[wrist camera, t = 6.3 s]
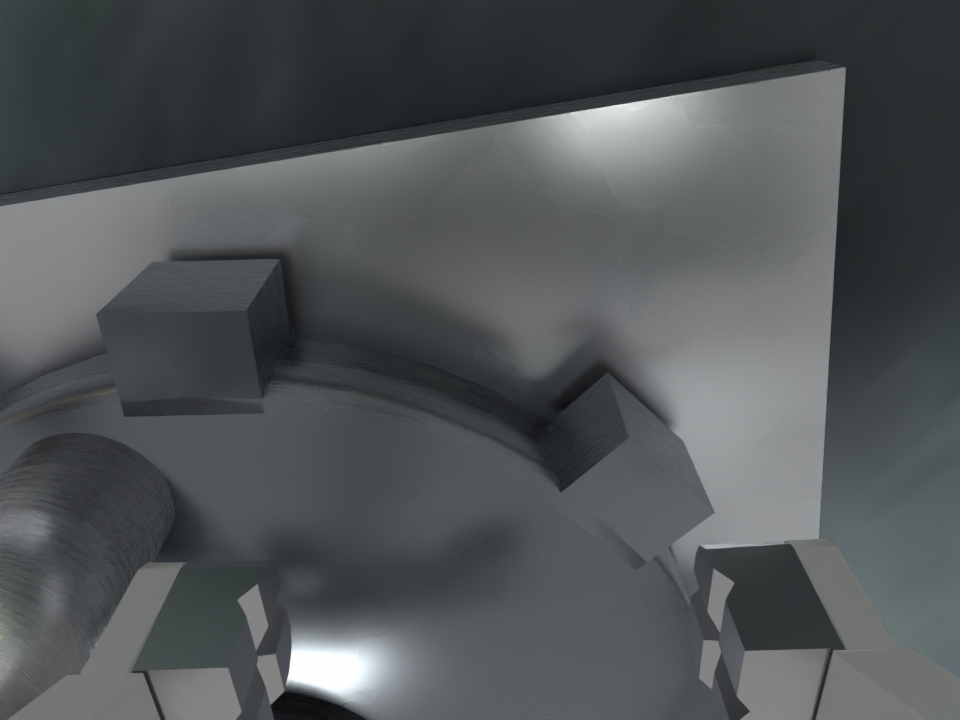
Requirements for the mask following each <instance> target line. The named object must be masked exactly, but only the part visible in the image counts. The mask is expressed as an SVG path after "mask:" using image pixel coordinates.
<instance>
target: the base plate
mask: <svg viewBox="0 0 960 720" xmlns="http://www.w3.org/2000/svg"><path fill="white" fill-rule="evenodd" d="M845 74H846V67H843V66H839V65H836V64H832V63H828V62H825V61H821V60H812V61H806V62H800V63H794V64H788V65H782V66H776V67H770V68H764V69H758V70H752V71H746V72H740V73H734V74H728V75H722V76H716V77H710V78H704V79H698V80H692V81H686V82H680V83H673V84H667V85H661V86H655V87H649V88H643V89H637V90H631V91H625V92H619V93H613V94H607V95H601V96H595V97H589V98H583V99H577V100H571V101H565V102H559V103H553V104H547V105H541V106H534V107H528V108H522V109H516V110H510V111H504V112H498V113H492V114H486V115H480V116H474V117H468V118H462V119H456V120H450V121H444V122H438V123H432V124H426V125H420V126H414V127H408V128H402V129H395V130H389V131H383V132H377V133H371V134H365V135H359V136H353V137H347V138H341V139H335V140H329V141H323V142H317V143H311V144H305V145H299V146H293V147H287V148H281V149H275V150H269V151H263V152H256V153H250V154H244V155H238V156H232V157H226V158H220V159H214V160H208V161H202V162H196V163H190V164H184V165H178V166H172V167H166V168H160V169H154V170H148V171H142V172H136V173H130V174H124V175H117V176H111V177H105V178H99V179H93V180H87V181H81V182H75V183H69V184H63V185H57V186H51V187H45V188H39V189H33V190H27V191H21V192H15V193H9V194H3V195H0V398H2V397H4V396H6V395H8V394H10V393H11V392H13V391H15V390H17V389H19V388H21V387H23V386H25V385H26V384H28V383H30V382H32V381H34V380H36V379H38V378H40V377H41V376H43V375H46V374H49V373H51V372H54V371H57V370H60V369H63V368H65V367H68V366H71V365H74V364H76V363H79V362H82V361H85V360H88V359H90V358H93V357H96V356H99V355H102V354H107V352H106V348H105V345H104V341H103V338H102V334H101V330H100V327H99V323H98V320H97V316H96V314H97V313H98V312H99V311H100V310H101V309H102V308H103V307H104V306H105V305H106V304H108V303H109V302H110V301H111V300H112V299H113V298H114V297H115V296H116V295H117V294H118V293H119V292H120V291H121V290H123V289H124V288H125V287H126V286H127V285H128V284H129V283H130V282H131V281H132V280H133V279H134V278H135V277H136V276H138V275H139V274H140V273H141V272H142V271H143V270H144V269H145V268H146V267H147V266H148V265H149V264H150V263H152V262H174V261H213V260H252V259H280V263H281V269H282V276H283V282H284V289H285V296H286V302H287V309H288V315H289V322H290V328H291V335H292V338H303V339H309V340H316V341H323V342H329V343H336V344H343V345H349V346H356V347H363V348H368V349H372V350H375V351H379V352H383V353H386V354H390V355H394V356H398V357H401V358H405V359H409V360H412V361H416V362H420V363H423V364H427V365H431V366H433V367H436V368H438V369H441V370H443V371H446V372H448V373H451V374H453V375H456V376H458V377H461V378H463V379H466V380H468V381H471V382H473V383H476V384H478V385H481V386H483V387H486V388H488V389H491V390H493V391H494V392H496V393H498V394H500V395H502V396H504V397H505V398H507V399H509V400H511V401H513V402H514V403H516V404H518V405H520V406H522V407H524V408H525V409H527V410H529V411H531V412H533V413H534V414H536V415H538V416H540V417H542V418H544V419H545V420H547V421H548V422H550V421H552V420H553V419H554V418H555V417H556V416H557V415H559V414H560V413H561V412H562V411H563V410H564V409H566V408H567V407H568V406H569V405H570V404H571V403H573V402H574V401H575V400H576V399H577V398H578V397H580V396H581V395H582V394H583V393H584V392H585V391H587V390H588V389H589V388H590V387H591V386H592V385H594V384H595V383H596V382H597V381H598V380H599V379H600V378H602V377H603V376H604V375H605V374H606V373H607V372H608V373H609V374H610V375H611V376H612V377H613V378H614V379H615V380H617V381H618V382H619V383H620V384H621V385H622V386H623V387H624V388H625V389H626V390H628V391H629V392H630V393H631V394H632V395H633V396H634V397H635V398H636V399H638V400H639V401H640V402H641V403H642V404H643V405H644V406H645V407H646V408H648V409H649V410H650V411H651V412H652V413H653V414H654V415H655V416H656V417H658V418H659V419H660V420H661V421H662V422H663V423H664V424H665V425H666V426H668V427H669V428H670V429H671V430H672V431H673V432H674V433H675V434H676V435H677V436H679V437H680V438H681V439H682V440H683V441H684V444H685V446H686V448H687V450H688V453H689V455H690V457H691V459H692V462H693V464H694V466H695V469H696V471H697V473H698V475H699V478H700V480H701V482H702V485H703V487H704V489H705V491H706V494H707V496H708V498H709V500H710V503H711V505H712V507H713V510H714V512H715V513H714V514H712V515H711V516H710V517H708V518H707V519H705V520H704V521H703V522H701V523H700V524H699V525H697V526H696V527H695V528H693V529H692V530H690V531H689V532H688V533H686V534H685V535H684V536H682V537H681V538H680V539H678V540H677V541H675V542H674V543H673V544H671V545H670V546H669V547H668V548H669V549H670V551H671V553H672V555H673V557H674V559H675V561H676V563H677V565H678V566H679V568H680V571H681V574H682V577H683V580H684V583H685V586H686V589H687V592H688V595H689V598H690V597H691V596H692V595H693V594H694V593H696V592H697V591H698V590H699V589H700V588H699V585H698V582H697V579H696V576H695V573H694V563H695V555H696V552H697V549H698V547H699V545H708V544H731V543H754V542H777V541H781V542H784V541H788V540H808V539H819V524H820V506H821V489H822V472H823V454H824V437H825V420H826V403H827V385H828V368H829V351H830V333H831V316H832V299H833V282H834V264H835V247H836V230H837V212H838V195H839V178H840V161H841V143H842V126H843V109H844V91H845Z"/></svg>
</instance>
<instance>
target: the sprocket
mask: <svg viewBox="0 0 960 720" xmlns="http://www.w3.org/2000/svg"><path fill="white" fill-rule="evenodd" d="M96 316H97V320H98V323H99V327H100V330H101V334H102V338H103V341H104V345H105V348H106V352H107V354H102V355H99V356H96V357H93V358H90V359H88V360H85V361H82V362H79V363H76V364H74V365H71V366H68V367H65V368H63V369H60V370H57V371H54V372H51V373H49V374H46V375H43V376H41V377H40V378H38V379H36V380H34V381H32V382H30V383H28V384H26V385H25V386H23V387H21V388H19V389H17V390H15V391H13V392H11V393H10V394H8V395H6V396H4V397H2V398H0V720H8V719H9V718H10V717H12V716H13V715H14V714H16V713H17V712H18V711H20V710H21V709H22V708H24V707H25V706H26V705H28V704H29V703H30V702H32V701H33V700H34V699H36V698H37V697H38V696H40V695H41V694H42V693H44V692H45V691H46V690H48V689H49V688H50V687H52V686H53V685H55V684H56V683H57V682H59V681H60V680H61V679H63V678H64V677H65V676H67V675H80V674H81V672H82V670H83V668H84V666H85V664H86V663H87V661H88V659H89V657H90V655H91V654H92V652H93V650H94V648H95V646H96V644H97V643H98V641H99V639H100V637H101V635H102V634H103V632H104V630H105V628H106V626H107V624H108V623H109V621H110V619H111V617H112V615H113V614H114V612H115V610H116V608H117V606H118V604H119V603H120V601H121V599H122V597H123V595H124V594H125V592H126V590H127V588H128V586H129V584H130V583H131V581H132V579H133V577H134V575H135V574H136V572H137V571H138V570H139V569H140V568H141V567H143V566H144V565H145V564H147V563H148V562H189V561H255V560H270V561H271V562H273V563H275V564H276V567H277V571H278V575H279V578H280V582H281V586H280V589H279V593H278V596H277V600H276V602H277V603H278V604H279V605H280V606H282V607H283V608H284V609H285V610H286V611H287V612H288V617H289V621H290V626H291V640H292V649H291V660H290V670H289V674H288V679H287V683H286V687H285V691H284V692H283V693H282V694H281V695H280V696H279V697H278V698H277V699H276V700H275V701H274V702H273V703H272V704H271V709H272V713H273V717H274V720H711V717H710V714H709V708H710V700H711V693H712V689H711V688H709V687H708V686H707V685H706V684H705V683H704V682H703V681H701V680H700V679H699V677H698V673H697V670H696V666H695V663H694V659H693V654H692V649H691V644H690V633H689V608H690V598H689V595H688V592H687V589H686V586H685V583H684V580H683V577H682V574H681V571H680V568H679V566H678V565H677V563H676V561H675V559H674V557H673V555H672V553H671V551H670V549H669V548H668V547H669V546H670V545H671V544H673V543H674V542H675V541H677V540H678V539H680V538H681V537H682V536H684V535H685V534H686V533H688V532H689V531H690V530H692V529H693V528H695V527H696V526H697V525H699V524H700V523H701V522H703V521H704V520H705V519H707V518H708V517H710V516H711V515H712V514H714V513H715V512H714V510H713V507H712V505H711V503H710V500H709V498H708V496H707V494H706V491H705V489H704V487H703V485H702V482H701V480H700V478H699V475H698V473H697V471H696V469H695V466H694V464H693V462H692V459H691V457H690V455H689V453H688V450H687V448H686V446H685V444H684V441H683V440H682V439H681V438H680V437H679V436H677V435H676V434H675V433H674V432H673V431H672V430H671V429H670V428H669V427H668V426H666V425H665V424H664V423H663V422H662V421H661V420H660V419H659V418H658V417H656V416H655V415H654V414H653V413H652V412H651V411H650V410H649V409H648V408H646V407H645V406H644V405H643V404H642V403H641V402H640V401H639V400H638V399H636V398H635V397H634V396H633V395H632V394H631V393H630V392H629V391H628V390H626V389H625V388H624V387H623V386H622V385H621V384H620V383H619V382H618V381H617V380H615V379H614V378H613V377H612V376H611V375H610V374H609V373H608V372H607V373H606V374H605V375H604V376H603V377H602V378H600V379H599V380H598V381H597V382H596V383H595V384H594V385H592V386H591V387H590V388H589V389H588V390H587V391H585V392H584V393H583V394H582V395H581V396H580V397H578V398H577V399H576V400H575V401H574V402H573V403H571V404H570V405H569V406H568V407H567V408H566V409H564V410H563V411H562V412H561V413H560V414H559V415H557V416H556V417H555V418H554V419H553V420H552V421H550V422H548V421H547V420H545V419H544V418H542V417H540V416H538V415H536V414H534V413H533V412H531V411H529V410H527V409H525V408H524V407H522V406H520V405H518V404H516V403H514V402H513V401H511V400H509V399H507V398H505V397H504V396H502V395H500V394H498V393H496V392H494V391H493V390H491V389H488V388H486V387H483V386H481V385H478V384H476V383H473V382H471V381H468V380H466V379H463V378H461V377H458V376H456V375H453V374H451V373H448V372H446V371H443V370H441V369H438V368H436V367H433V366H431V365H427V364H423V363H420V362H416V361H412V360H409V359H405V358H401V357H398V356H394V355H390V354H386V353H383V352H379V351H375V350H372V349H368V348H363V347H356V346H349V345H343V344H336V343H329V342H323V341H316V340H309V339H303V338H292V335H291V328H290V322H289V315H288V309H287V302H286V296H285V289H284V282H283V276H282V269H281V263H280V259H252V260H213V261H174V262H152V263H150V264H149V265H148V266H147V267H146V268H145V269H144V270H143V271H142V272H141V273H140V274H139V275H138V276H136V277H135V278H134V279H133V280H132V281H131V282H130V283H129V284H128V285H127V286H126V287H125V288H124V289H123V290H121V291H120V292H119V293H118V294H117V295H116V296H115V297H114V298H113V299H112V300H111V301H110V302H109V303H108V304H106V305H105V306H104V307H103V308H102V309H101V310H100V311H99V312H98V313H97V314H96Z"/></svg>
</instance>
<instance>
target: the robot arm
mask: <svg viewBox="0 0 960 720" xmlns="http://www.w3.org/2000/svg"><path fill="white" fill-rule="evenodd" d="M694 573H695V576H696V579H697V582H698V585H699V588H700V589H699V590H698V591H697V592H696V593H694V594H693V595H692V596H691V597H690V608H689V633H690V644H691V649H692V654H693V659H694V663H695V666H696V670H697V673H698V677H699V679H700V680H701V681H703V682H704V683H705V684H706V685H707V686H708V687H709V688H711V689H712V693H711V700H710V708H709V714H710V717H711V720H960V679H959V678H957V677H956V676H954V675H952V674H951V673H949V672H948V671H946V670H945V669H943V668H942V667H940V666H939V665H937V664H936V663H934V662H933V661H931V660H930V659H928V658H927V657H925V656H924V655H922V654H921V653H919V652H918V651H916V650H915V649H913V648H898V646H897V644H896V643H895V641H894V639H893V638H892V636H891V634H890V633H889V631H888V629H887V628H886V626H885V624H884V623H883V621H882V619H881V618H880V616H879V615H878V613H877V611H876V610H875V608H874V606H873V605H872V603H871V601H870V600H869V598H868V596H867V595H866V593H865V591H864V590H863V588H862V586H861V585H860V583H859V581H858V580H857V578H856V577H855V575H854V573H853V572H852V570H851V568H850V567H849V565H848V563H847V562H846V560H845V558H844V557H843V555H842V553H841V552H840V550H839V548H838V547H837V545H836V544H835V543H834V542H832V541H831V540H829V539H808V540H788V541H784V542H781V541H777V542H754V543H731V544H708V545H699V547H698V549H697V552H696V555H695V563H694ZM280 586H281V582H280V578H279V575H278V571H277V567H276V564H275V563H273V562H271V561H270V560H255V561H189V562H148V563H147V564H145V565H144V566H143V567H141V568H140V569H139V570H138V571H137V572H136V574H135V575H134V577H133V579H132V581H131V583H130V584H129V586H128V588H127V590H126V592H125V594H124V595H123V597H122V599H121V601H120V603H119V604H118V606H117V608H116V610H115V612H114V614H113V615H112V617H111V619H110V621H109V623H108V624H107V626H106V628H105V630H104V632H103V634H102V635H101V637H100V639H99V641H98V643H97V644H96V646H95V648H94V650H93V652H92V654H91V655H90V657H89V659H88V661H87V663H86V664H85V666H84V668H83V670H82V672H81V674H80V675H67V676H65V677H64V678H63V679H61V680H60V681H59V682H57V683H56V684H55V685H53V686H52V687H50V688H49V689H48V690H46V691H45V692H44V693H42V694H41V695H40V696H38V697H37V698H36V699H34V700H33V701H32V702H30V703H29V704H28V705H26V706H25V707H24V708H22V709H21V710H20V711H18V712H17V713H16V714H14V715H13V716H12V717H10V718H9V719H8V720H274V717H273V713H272V709H271V704H272V703H273V702H274V701H275V700H276V699H277V698H278V697H279V696H280V695H281V694H282V693H283V692H284V691H285V687H286V683H287V679H288V674H289V670H290V660H291V649H292V640H291V626H290V621H289V617H288V612H287V611H286V610H285V609H284V608H283V607H282V606H280V605H279V604H278V603H277V602H276V600H277V596H278V593H279V589H280Z"/></svg>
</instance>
